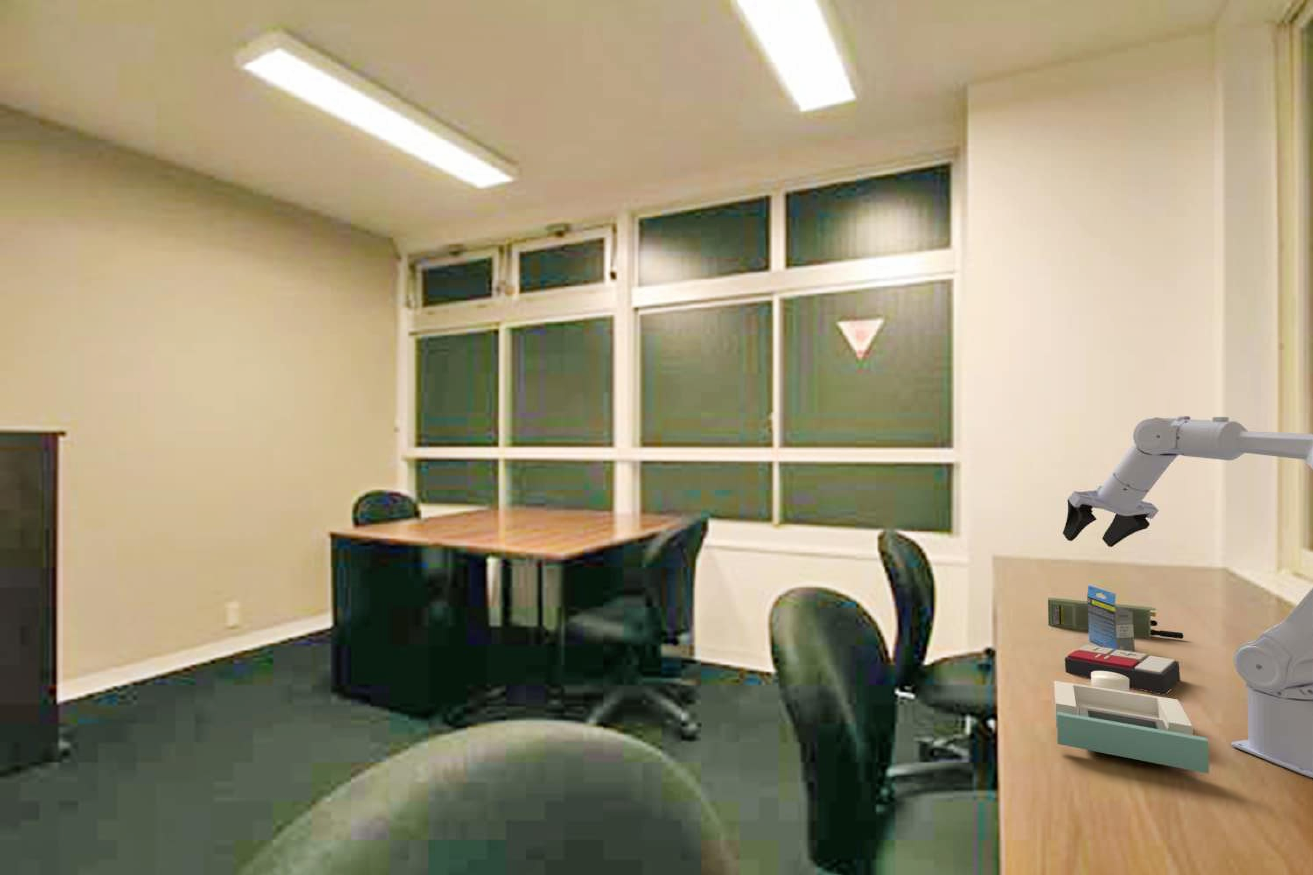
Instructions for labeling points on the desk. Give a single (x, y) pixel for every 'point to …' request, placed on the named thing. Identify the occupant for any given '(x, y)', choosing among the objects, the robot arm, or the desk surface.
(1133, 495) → the robot arm
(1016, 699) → the desk surface
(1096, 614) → the label tape box
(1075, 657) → the calculator
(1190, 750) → the tray
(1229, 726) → the desk surface
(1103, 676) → the white dome-topped cylinder
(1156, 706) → the dock
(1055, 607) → the handheld radio
